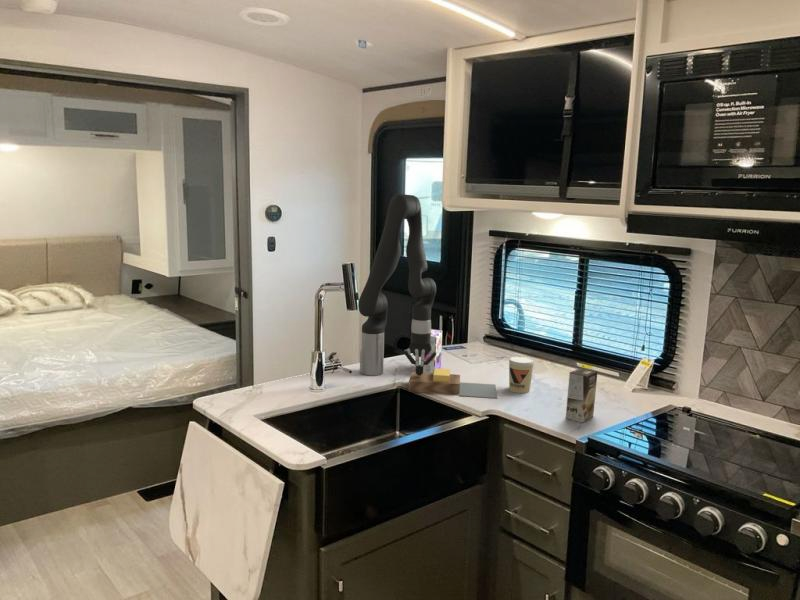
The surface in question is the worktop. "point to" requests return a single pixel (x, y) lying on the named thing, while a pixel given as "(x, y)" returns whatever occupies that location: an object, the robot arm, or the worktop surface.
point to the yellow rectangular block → (441, 375)
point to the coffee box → (581, 394)
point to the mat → (478, 390)
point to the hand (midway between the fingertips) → (419, 374)
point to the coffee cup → (520, 374)
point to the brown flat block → (433, 384)
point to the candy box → (436, 346)
